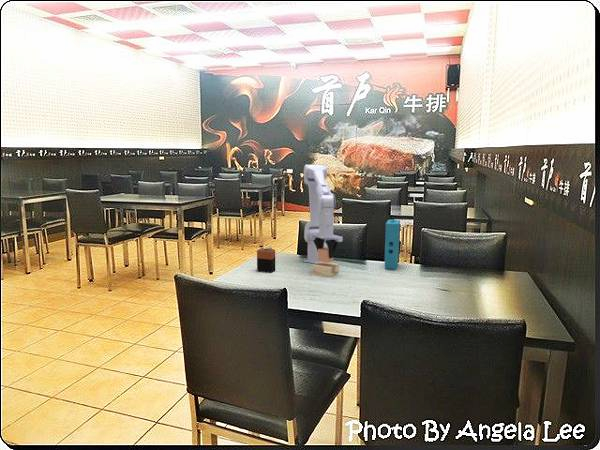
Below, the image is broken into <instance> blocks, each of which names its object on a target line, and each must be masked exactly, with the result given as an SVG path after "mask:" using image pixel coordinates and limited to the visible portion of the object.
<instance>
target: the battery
mask: <svg viewBox="0 0 600 450" xmlns="http://www.w3.org/2000/svg"><path fill="white" fill-rule="evenodd" d="M256 271H257V272H262V273H273V272H274V271H276V249H275V248H273V247H266V248H265V247H264V246H261V247H259V249H257V250H256Z"/></svg>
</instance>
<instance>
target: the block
mask: <svg viewBox="0 0 600 450" xmlns="http://www.w3.org/2000/svg"><path fill="white" fill-rule="evenodd" d="M400 224H401V220H400V219H388V220H387V221H386V223H385V238H384V239H385V240H384V269H385V270H393V271H397V269H398V266H399V252H400V229H401V228H400V227H401V225H400Z"/></svg>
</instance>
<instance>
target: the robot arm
mask: <svg viewBox="0 0 600 450" xmlns="http://www.w3.org/2000/svg"><path fill="white" fill-rule="evenodd" d="M327 176H328V167H327V164H325V163H323V164H305V165H304V166H303V181H304V184H305V185H307V186H308V197H309V198H308V199H309V217H310V218H309V221H308V222H307V223H306V224H305V225H304V231H303V234H304V235H303V238H304V241H305V242H306V243H307V259H304V260H303V262H305V263H310V264H313V265H315V264H317V263H320V262H321V261H318V249H320V248H324V247H326V248H329V258H333V259H334V256H335V255H334V254H335V251H336V249H337V247H338V245H339V243H341V242H343V240H344V239H343V238H344V237H343V236H340V235H336V234H334V216H335V215H334V214H335V213H334V209H335V208H336V203H337V200H336V196H335V195H336V194H334V193H332V192H331V189H330V185H329V184H328V183H326V178H327ZM326 242H327V243H326Z"/></svg>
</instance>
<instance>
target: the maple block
mask: <svg viewBox="0 0 600 450" xmlns="http://www.w3.org/2000/svg"><path fill="white" fill-rule="evenodd" d="M339 269H340V264H339V263H334V262H328V263H326V262H320V263H317V264H313V265H312V271H311V272H312V273H311V274H312V275H315V276H321V277H327V278H331V277H333V276H335V275H337V274H339V271H340V270H339Z"/></svg>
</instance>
